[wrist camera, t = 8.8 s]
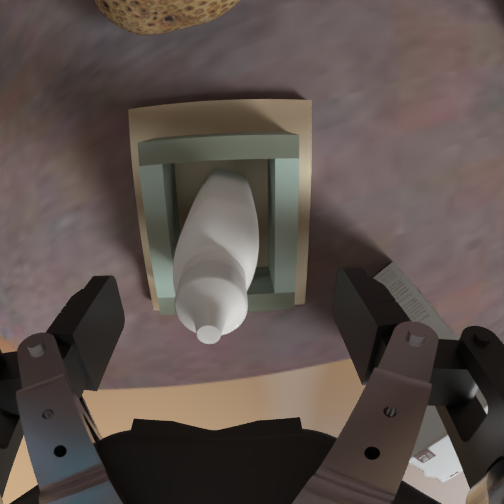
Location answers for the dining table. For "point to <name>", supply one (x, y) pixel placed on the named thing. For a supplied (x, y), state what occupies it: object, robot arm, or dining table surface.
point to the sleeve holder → (232, 159)
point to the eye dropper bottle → (216, 257)
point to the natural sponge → (162, 13)
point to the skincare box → (432, 429)
